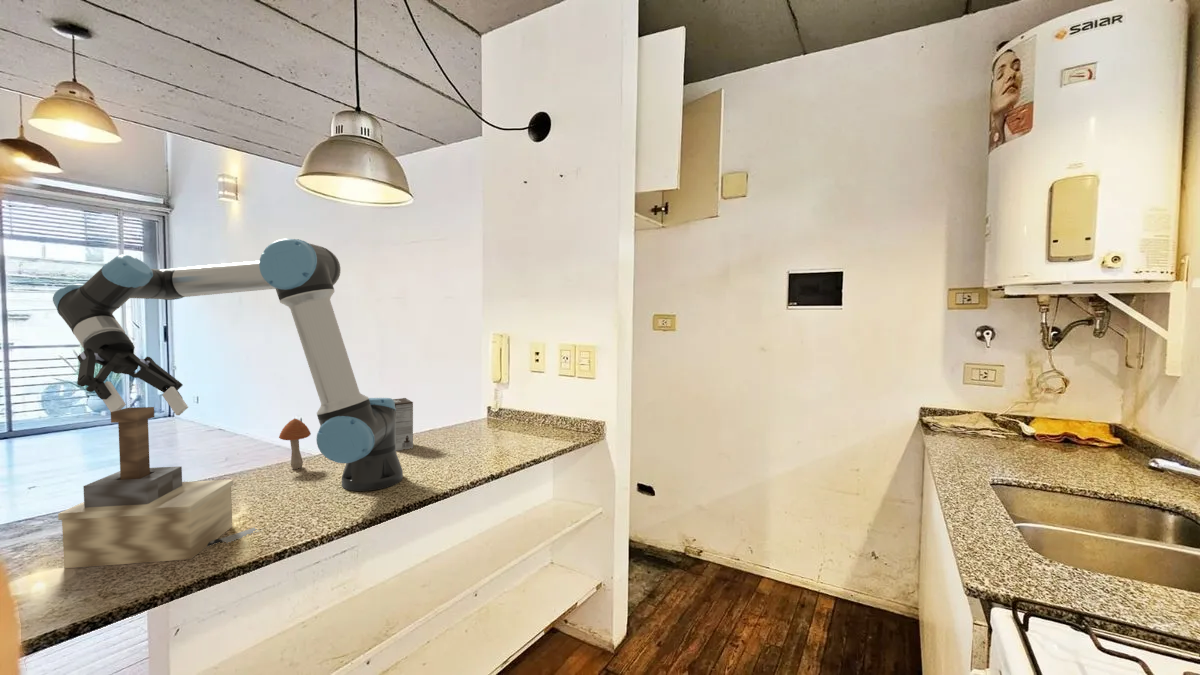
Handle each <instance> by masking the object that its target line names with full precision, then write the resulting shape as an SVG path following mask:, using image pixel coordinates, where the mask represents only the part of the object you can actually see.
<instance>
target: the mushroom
mask: <svg viewBox="0 0 1200 675" xmlns="http://www.w3.org/2000/svg"><path fill="white" fill-rule="evenodd" d="M311 434H312V433H311V431H310V429H309V428H308V426H307V425H306V424H305V423H304V422H303V421H301V420H300V419H297V418H293V419H291V420H289V421H288V423H287V424H286V425H284V427H283V428H282V429H281V431H280V433H279V436H278V439H280V440H282V441H289V442H290V448H291V449H290V450H291V457H290V466H291V469H292V468H293V469H292V470H299V469H301V468H302V467H303V463H304V462H303V457H302V454H301V450H300V440H302V439H303V440H305V438H308V437H310V436H311ZM298 468H299V469H298Z"/></svg>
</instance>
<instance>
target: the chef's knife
mask: <svg viewBox="0 0 1200 675" xmlns="http://www.w3.org/2000/svg"><path fill="white" fill-rule="evenodd" d="M255 530H257V529H255V527H251V528H249V529H246V530H242V531H239V532H237V533H233V534H230V535H228V536H225V537H221V538H217V539H216V540H214V541H211V542H209V543H208V545H207V547H211V546H213V544H214V545H217V544H220V543H224V542H226V543H225V544H229V543H228V542H230V543H232V542H231V541H233V542H235V541H237V540H236V539H238V540H240V539H243V538H244V537H243V536H245V537H247V536H246V535H247V534H250V535H252V534H251V533H253V531H255ZM253 534H254V533H253ZM242 537H243V538H242ZM239 538H240V539H239ZM234 540H235V541H234ZM219 542H220V543H219ZM216 543H217V544H216ZM210 545H211V546H210Z"/></svg>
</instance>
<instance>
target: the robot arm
mask: <svg viewBox="0 0 1200 675" xmlns="http://www.w3.org/2000/svg"><path fill="white" fill-rule="evenodd" d="M340 276H341V264H340V261H339V260H338V258H337V256H336V255H335V254H334V253H333V252H332V251H331V250H330V249H328V248H325V247H323V246H320V245H317V244H313V243H310V242H307V241H305V240H302V239H295V238H281V239H278V240H275V241H273V242H271V243H270V244H268V245H267V246H266V248H265V249H264V250H263V252H262V253H261V255H260V258H259V260H255V261H254V260H253V261H252V260H251V261H243V262H232V263H221V264H207V265H195V266H186V267H173V268H160V269H159V268H151V267H150V266H149V265H148V264H146V262H144V261H142V260H141V259H138V258H137V257H133V256H132V255H129V254H119V255H116V256H115V257H114V258H111V260H110V261H108V262H107V263H105V264H104V265H103V266H102V267H101V268H100V269H99V270H98V271H97V272H96V273H95V274H94V275H92V276H91V278H89V279H88V280H87V281H86V282H85V283H74V284H73V283H72V284H69V285H68V284H67V286H66V287H61V288H58V289H57V290H56V291H55V293H54V294H53V296H52V303H53V304H54V306H55V308H56V311H57V314H58V315H59V316H60V317H61V318H62V319H63V321H64V322H65V323H66V325H67V326H68V327H69V328H70V330H71V332H72V333H73V336H75V338H76V339H77V340H78V342H79V344H80V345H81V347H82V348H83V351H82V352H81V353H80V354H79V355H77V359H78V362H79V369H78V374H77V380H76V385H78V386H79V387H85V386H87V387H86V388H85V391H87V392H89V393H93V392H95V394H96V396H97V397H98V398H99V399H101V400H102V401H103V403H104V404H105V406H106V407H107V409H108V410H109V412H110V413H111V412H113V411H117V410H121V409H124V407H126V405H127V404H126V402H125V401H124V400H123V398H122V396H121V395H120V393H119V392H118V391H117V389H116V388H115V386H114V384H113V383H112V381H109V380H107V378H108V377H109V376H110V374H111V372H112V373H114V374H123V375H127V376H130V377H132V378H134V379H140V380H141V381H142V382H145V383H146V384H148V385H150V386H152V387H154V388H155V389H157V390H159V391H160V392H162V394H161V396H162V397H163V398H164V400H165V401H166V403H167V404H168V405H169V407H170V408H171V409H172V411H173V413H174V414H175V415H176V416H180V415H182V414H183V413H184V412H185V411H186V410H187V409H188V408H189V406H188V404H187V403H186V402H185V400H184V399H183V396H182V395H181V393H180V392H179V389H180V388H182V387H183V386H184V385H183V383H182V382H180V381H179V380H178V379H177V378H175V377H174V376H173V375H171V374H170V373H169V372H168V371H166V370H165V369H164V368H162V367H161V366H160V365H159V364H157V363H156V361H154V359H153V358H152V357H151V356H145V358H140V357H138V356H137V355H136V354H135V344H134V343H133V342H132V340H131V339H130V337H129V336H128V335H127V334H126V331H125V330H124V328H123V326H121V324H120V323H119V321H118V320H117V319H116V318H115V315H113V313H114V312H115V311H116V310H118V309H119V308H120V307H121V306H123V305H124V304H125V303H127V301H129V300H130V299H140V300H141V299H142V300H143V299H144V300H145V299H147V300H148V299H151V300H152V299H153V300H164V301H173V300H180V299H183V298H190V297H199V296H210V295H220V294H233V293H242V292H255V291H266V290H275V291H276V293H277V297H278V301H279V302H280V304H282V305H284V306H286V307H288V309H290V313H291V315H292V316H291V317H292V318H293V322H294V324H295V325H294V326H295V327H296V331H297V335H298V337H299V340H300V343H301V346H302V349H303V352H304V356H305V359H306V361H307V362H306V363H307V365H308V368H309V371H310V374H311V376H312V380H313V384H314V386H315V389H316V392H317V397H318V398H319V402H320V407H319V408H318V410H317V412H316V416H317V419H318V422H319V425H320V426H319V429H318V431H317V433H316V445H317V448H318V450H319V451H320V453H321V454H322V455H323V456H324V457H325V458H326V459H328V460H329V461H332V462H334V463H338V464H345V466H344V469H343V472H342V475H341V487H342V488H343V489H345V490H349V491H353V492H355V491H357V492H358V491H359V492H365V491H376V490H381V489H385V488H388V487H392V486H394V485H398V484H399V483H400V482H401V481H403V478H404V477H403V474H404V473H403V472H404V471H403V468H402V465H401V462H400V459H399V458H398V454H397V451H396V448H395V411H396V408H395V402H394V400H393V399H394V398H392V397H391V398H390V397H369V396H367V395H364V394H362V393H361V392H360V389H359V386H358V383H357V380H356V378H355V373H354V371H353V368H352V365H351V362H350V359H349V355H348V352H347V349H346V346H345V342H344V340H343V336H342V333H341V330H340V327H339V323H338V320H337V317H336V314H335V311H334V307H333V305H332V302H331V298H332V297H333V295H334V293H335V288H334V286H335V284H337V283H338V280H339V279H340ZM96 364H99V365H100V366H101V368H100V369H99V371H98V373H97V374H96V375H95V370H96ZM138 368H139V370H138V371H137V372H135V371H136V370H137V369H138ZM94 376H95V377H94ZM106 380H107V381H106Z"/></svg>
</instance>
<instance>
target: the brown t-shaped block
mask: <svg viewBox="0 0 1200 675" xmlns="http://www.w3.org/2000/svg"><path fill="white" fill-rule="evenodd" d="M153 418H155V406H148V407H147V406H145V407H144V406H141V407H140V406H139V407H126V408H122V409H121V410H117V411H113V412H110V423H111V424H114V423H118V424H117V425H118V426H117V427H118V447H119V448H118V449H119V450H118V452H119V469H120V470H119V471H120V477H121V480H124V479H141V478H143V477H145V476H147V475H149V474H150V468H151V465H150V463H151V462H150V441H149V440H150V439H149V420H150V419H153Z"/></svg>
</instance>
